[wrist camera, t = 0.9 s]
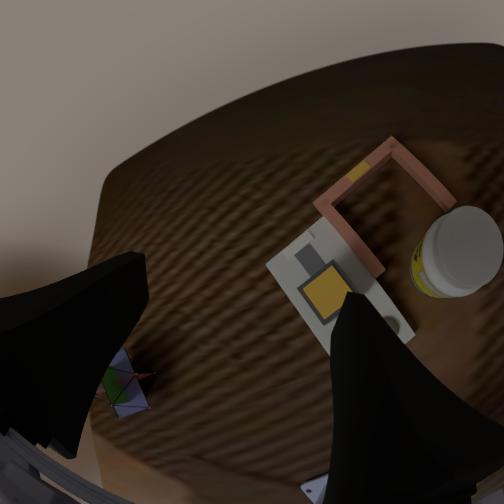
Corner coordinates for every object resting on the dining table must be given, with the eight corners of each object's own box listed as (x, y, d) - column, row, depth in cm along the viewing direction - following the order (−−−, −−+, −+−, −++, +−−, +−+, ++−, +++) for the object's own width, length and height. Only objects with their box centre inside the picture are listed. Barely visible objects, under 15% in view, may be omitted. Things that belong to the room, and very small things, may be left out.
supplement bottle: (433, 223, 18) (463, 178, 10) (473, 264, 16) (523, 241, 9) (396, 269, 19) (412, 247, 11) (437, 311, 17) (475, 316, 9)
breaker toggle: (363, 297, 18) (361, 296, 16) (329, 322, 19) (323, 326, 16) (338, 264, 20) (332, 258, 17) (306, 290, 20) (296, 288, 18)
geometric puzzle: (144, 334, 25) (69, 355, 20) (173, 398, 22) (95, 424, 18) (142, 351, 30) (82, 369, 26) (165, 403, 28) (104, 424, 23)
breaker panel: (414, 333, 17) (416, 335, 16) (350, 381, 19) (349, 384, 18) (325, 218, 22) (323, 215, 21) (268, 265, 23) (264, 264, 22)
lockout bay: (453, 206, 17) (457, 200, 16) (374, 279, 19) (375, 278, 18) (391, 143, 20) (391, 135, 19) (315, 207, 22) (312, 202, 21)
